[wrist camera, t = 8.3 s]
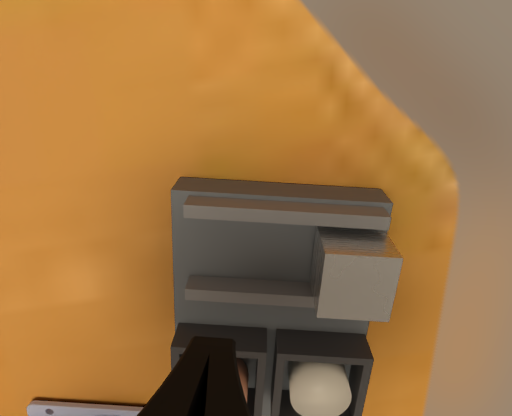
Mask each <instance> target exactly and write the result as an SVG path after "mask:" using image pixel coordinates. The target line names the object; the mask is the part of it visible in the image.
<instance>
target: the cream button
mask: <svg viewBox="0 0 512 416" xmlns="http://www.w3.org/2000/svg"><path fill="white" fill-rule="evenodd" d="M288 374H289V389H290V401H291V405H292V407H293V408H294V410H295V411H296V412H297V413H299V414H300V415H302V416H339V415H340V414H342V413H343V412H344V411H345V410H346V409H347V408H348V407H349V405H350V403H351V398H352V395H351V390H350V386H349V382H348V378H347V374H346V370H345V366H344V364H331V363H315V362H299V361H289V364H288Z"/></svg>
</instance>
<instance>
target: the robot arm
mask: <svg viewBox="0 0 512 416" xmlns="http://www.w3.org/2000/svg"><path fill="white" fill-rule="evenodd" d="M27 413H28V416H251V414H250V411H249V408H248V405H247V402H246V399H245V395H244V391H243V388H242V384H241V380H240V376H239V371H238V366H237V359H236V342H235V341H234V340H233V339H230V338H216V337H202V336H194V337H193V338H191V340H190V342H189V344H188V346H187V347H186V349H185V351H184V353H183V354H182V356H181V357H180V359H179V361H178V362H177V364H176V365H175V367H174V368H173V370H172V371H171V372H170V374H169V375H168V377H167V378H166V379H165V381H164V382H163V384H162V385H161V386H160V388H159V389H158V390H157V391H156V393H155V394H154V395H153V396H152V398H151V399H150V400H149V401H148V403H147V404H146V405H145V406H144V407H134V406H118V405H102V404H86V403H71V402H55V401H39V400H34V401H31V402H30V403H29V405H28V406H27Z"/></svg>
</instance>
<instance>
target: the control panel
mask: <svg viewBox="0 0 512 416" xmlns="http://www.w3.org/2000/svg"><path fill="white" fill-rule="evenodd" d="M392 206H393V203H392V202H391V200H390V199H389V198H388V197H387V196H386V194H385V193H384V192H383V191H382V190H381V189H374V188H358V187H341V186H324V185H308V184H291V183H275V182H258V181H241V180H225V179H208V178H191V177H180V178H179V179H178V181H177V182H176V184H175V185H174V186H173V188H172V189H171V208H172V242H173V275H174V309H175V335H174V338H173V341H172V344H171V370H173V368H174V367H175V365H176V364H177V362H178V361H179V359H180V357H181V356H182V354H183V353H184V351H185V349H186V347H187V346H188V344H189V342H190V340H191V338H193V337H194V336H202V337H216V338H230V339H233V340H234V341H235V342H236V358H240V359H241V360H242V361H243V362H244V363H245V364H246V366H247V369H248V373H249V377H248V395H247V405H248V408H249V411H250V414H251V416H302V415H300V414H299V413H297V412H296V411H295V410H294V408H293V407H292V405H291V401H290V389H289V374H288V364H289V361H299V362H315V363H331V364H344V366H345V370H346V374H347V378H348V382H349V386H350V390H351V395H352V398H351V403H350V405H349V407H348V408H347V409H346V410H345V411H344V412H343V413H342V414H340V415H339V416H362V412H363V407H364V402H365V398H366V393H367V389H368V384H369V379H370V375H371V370H372V365H373V361H374V359H373V356H372V353H371V350H370V347H369V345H368V342H367V339H366V335H367V330H368V325H369V321H363V320H347V319H331V318H317V317H316V312H315V307H314V301H313V296H312V291H311V285H310V273H311V265H312V257H313V249H314V241H315V233H316V226H326V227H343V228H359V229H376V230H385V232H386V233H387V231H388V230H389V227H390V222H391V211H392Z"/></svg>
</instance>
